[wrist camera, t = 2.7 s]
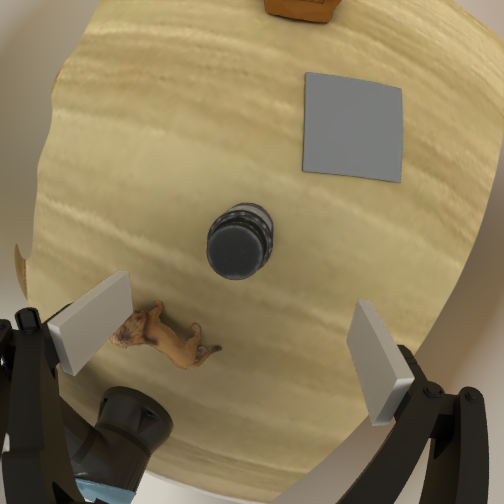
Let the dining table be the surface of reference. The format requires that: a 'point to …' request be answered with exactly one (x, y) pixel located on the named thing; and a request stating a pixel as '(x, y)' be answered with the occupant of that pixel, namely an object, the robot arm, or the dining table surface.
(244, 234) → the pill bottle
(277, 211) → the dining table surface
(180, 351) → the lion figurine
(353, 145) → the pad
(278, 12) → the coffee package
